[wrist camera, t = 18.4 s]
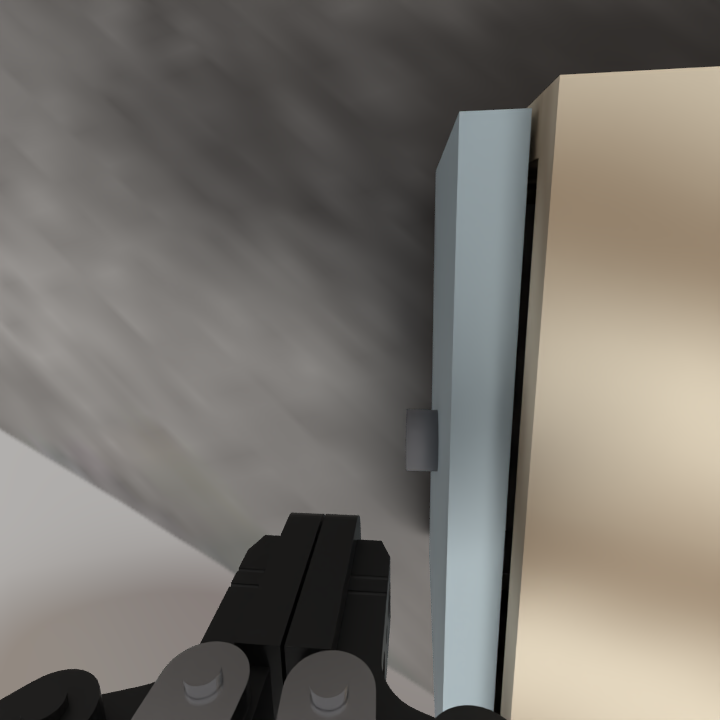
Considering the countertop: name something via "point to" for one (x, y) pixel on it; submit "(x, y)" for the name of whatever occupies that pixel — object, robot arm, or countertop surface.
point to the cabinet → (619, 407)
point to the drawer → (475, 393)
